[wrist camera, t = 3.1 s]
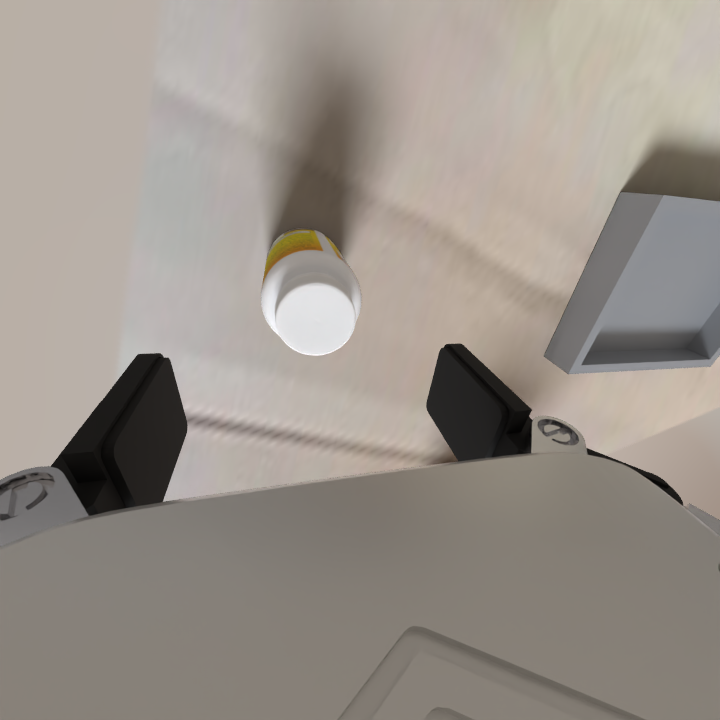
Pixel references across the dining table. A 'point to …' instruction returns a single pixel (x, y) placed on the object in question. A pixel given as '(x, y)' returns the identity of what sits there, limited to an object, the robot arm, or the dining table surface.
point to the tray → (646, 290)
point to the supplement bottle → (309, 292)
